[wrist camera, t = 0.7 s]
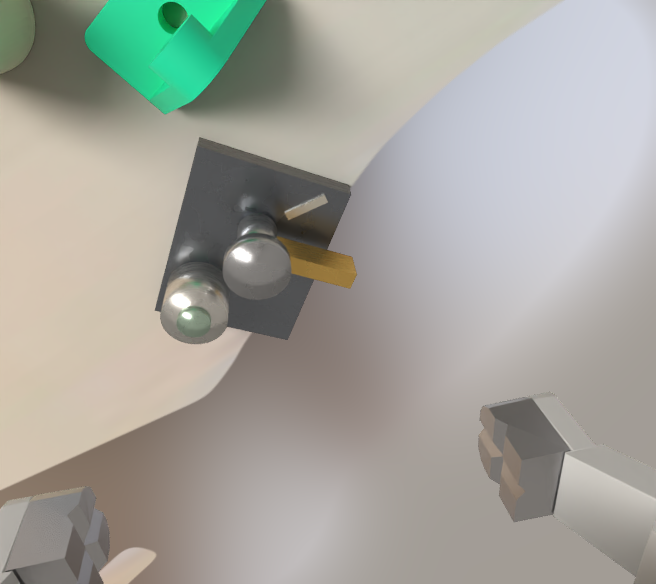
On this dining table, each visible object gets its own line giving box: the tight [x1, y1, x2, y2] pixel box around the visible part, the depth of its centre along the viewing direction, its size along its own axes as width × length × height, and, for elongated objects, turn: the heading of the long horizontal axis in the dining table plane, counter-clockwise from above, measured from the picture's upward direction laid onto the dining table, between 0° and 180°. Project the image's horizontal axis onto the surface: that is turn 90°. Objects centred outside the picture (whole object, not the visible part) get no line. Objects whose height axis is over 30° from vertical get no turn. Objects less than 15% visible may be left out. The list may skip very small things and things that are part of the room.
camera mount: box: [85, 0, 266, 114], centre depth 38 cm, size 12×8×10 cm, turn 133°
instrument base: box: [155, 137, 351, 344], centre depth 51 cm, size 18×14×8 cm
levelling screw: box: [223, 213, 357, 300], centre depth 49 cm, size 12×6×7 cm, turn 69°
